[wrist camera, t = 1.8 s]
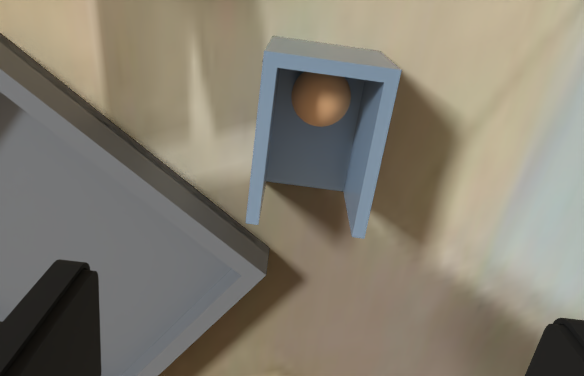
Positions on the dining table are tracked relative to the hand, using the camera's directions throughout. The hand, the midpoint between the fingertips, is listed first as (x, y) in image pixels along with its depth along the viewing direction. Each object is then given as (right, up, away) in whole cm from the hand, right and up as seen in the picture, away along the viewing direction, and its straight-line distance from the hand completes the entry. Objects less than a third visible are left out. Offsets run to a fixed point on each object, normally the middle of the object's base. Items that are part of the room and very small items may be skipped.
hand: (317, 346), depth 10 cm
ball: (+1, +8, +14) cm, 16 cm away
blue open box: (+1, +7, +17) cm, 18 cm away
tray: (-15, 0, +20) cm, 25 cm away
